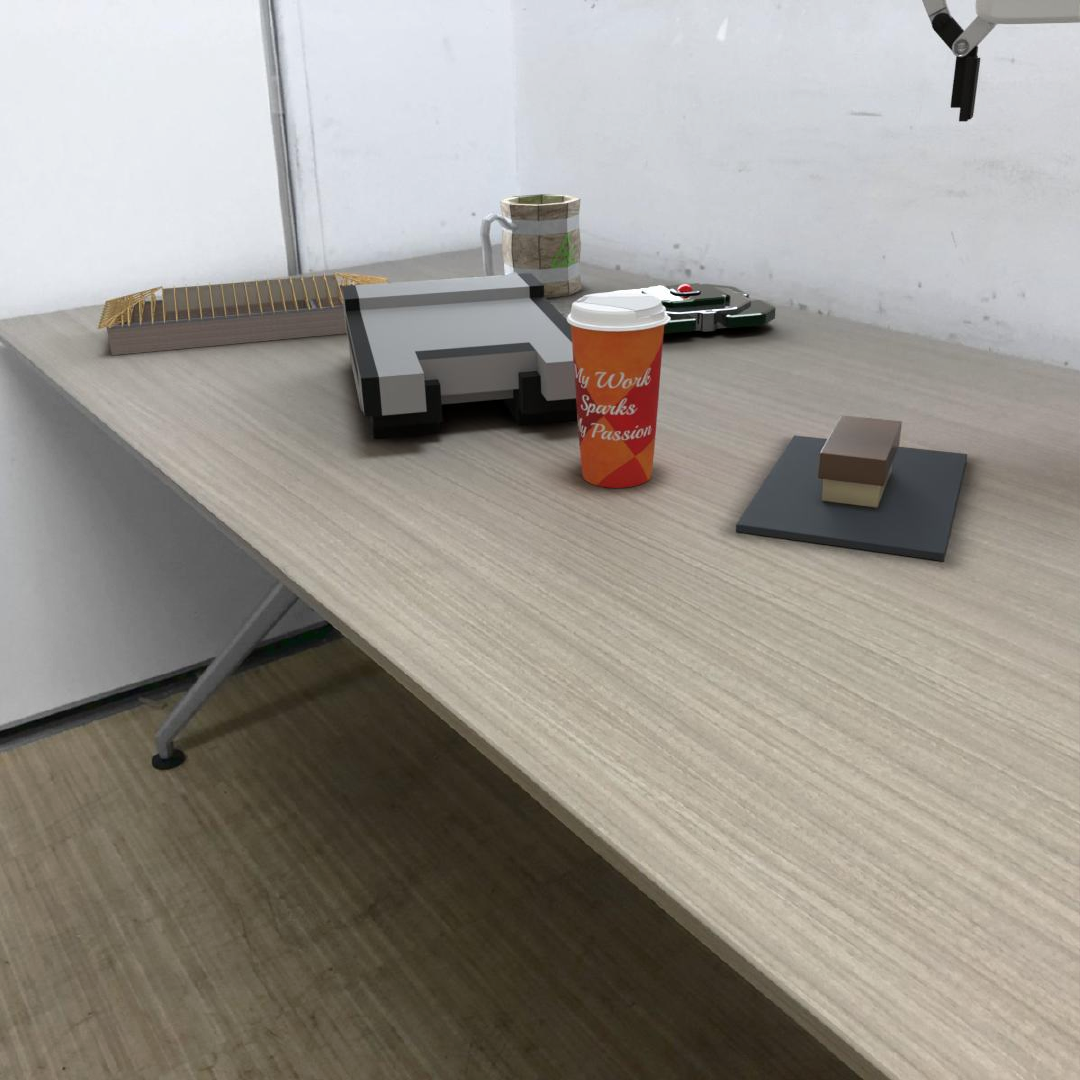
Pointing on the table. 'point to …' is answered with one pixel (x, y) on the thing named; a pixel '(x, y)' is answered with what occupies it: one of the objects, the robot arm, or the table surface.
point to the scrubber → (858, 460)
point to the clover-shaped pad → (708, 307)
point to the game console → (458, 350)
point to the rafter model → (228, 313)
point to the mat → (893, 527)
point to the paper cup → (617, 384)
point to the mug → (538, 240)
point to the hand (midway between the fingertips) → (1042, 120)
